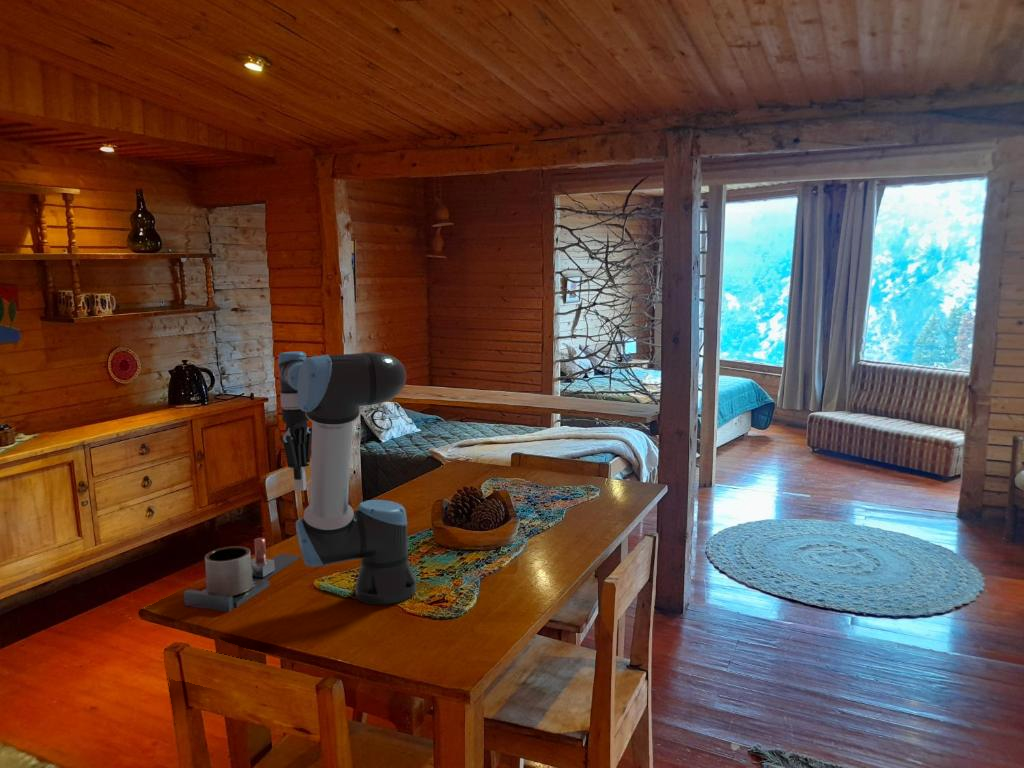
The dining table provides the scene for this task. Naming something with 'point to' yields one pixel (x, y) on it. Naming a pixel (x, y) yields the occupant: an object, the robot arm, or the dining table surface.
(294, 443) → the robot arm
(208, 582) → the planter
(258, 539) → the pink cylinder stand
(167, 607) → the dining table surface
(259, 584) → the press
